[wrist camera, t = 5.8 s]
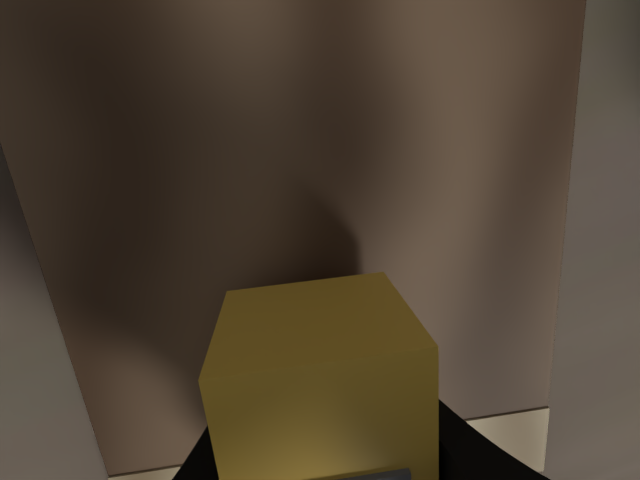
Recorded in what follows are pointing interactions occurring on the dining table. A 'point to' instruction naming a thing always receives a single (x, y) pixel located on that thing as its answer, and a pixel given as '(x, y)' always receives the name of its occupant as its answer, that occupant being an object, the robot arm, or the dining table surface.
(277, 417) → the block
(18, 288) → the dining table surface
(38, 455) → the dining table surface
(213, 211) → the board
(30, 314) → the dining table surface
